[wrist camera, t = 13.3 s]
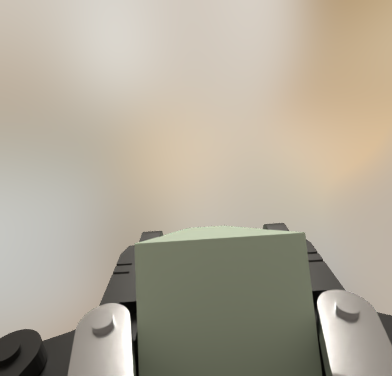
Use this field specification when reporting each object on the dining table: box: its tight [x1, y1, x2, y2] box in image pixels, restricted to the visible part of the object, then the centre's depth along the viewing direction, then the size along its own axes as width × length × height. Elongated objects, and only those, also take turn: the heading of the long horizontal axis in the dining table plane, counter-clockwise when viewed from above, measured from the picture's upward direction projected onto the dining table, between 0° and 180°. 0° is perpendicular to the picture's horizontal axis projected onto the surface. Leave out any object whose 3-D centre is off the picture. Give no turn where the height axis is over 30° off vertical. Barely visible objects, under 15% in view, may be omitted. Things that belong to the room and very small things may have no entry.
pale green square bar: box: [135, 226, 322, 376], centre depth 18 cm, size 24×4×4 cm, turn 178°
